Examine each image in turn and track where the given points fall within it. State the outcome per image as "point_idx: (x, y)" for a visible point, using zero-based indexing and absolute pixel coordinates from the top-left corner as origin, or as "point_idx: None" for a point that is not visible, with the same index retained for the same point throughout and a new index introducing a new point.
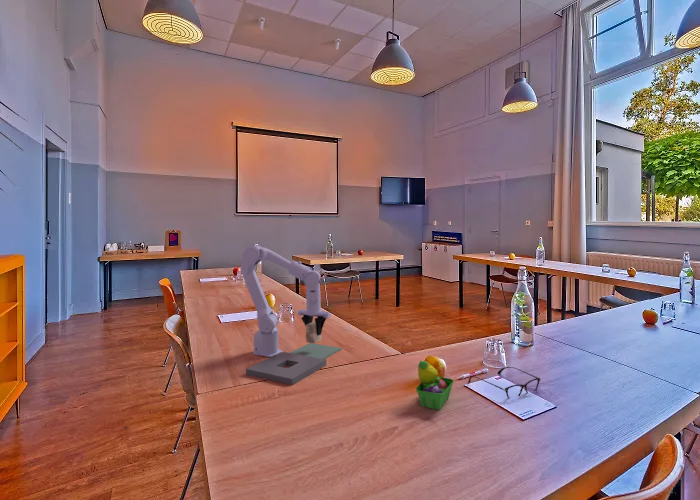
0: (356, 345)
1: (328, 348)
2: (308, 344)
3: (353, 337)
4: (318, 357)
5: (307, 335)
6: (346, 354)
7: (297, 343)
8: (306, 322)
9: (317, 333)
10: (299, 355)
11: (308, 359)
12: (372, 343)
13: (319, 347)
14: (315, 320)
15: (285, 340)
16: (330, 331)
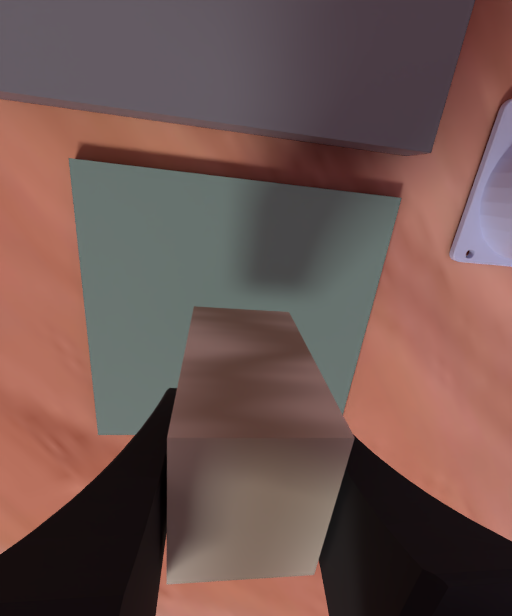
0: None
1: None
2: None
3: (163, 579)
4: (121, 208)
5: (285, 342)
6: (6, 363)
7: (412, 416)
8: (371, 499)
9: (173, 398)
10: (248, 107)
11: (93, 10)
12: None
13: None
14: (105, 575)
15: (497, 431)
16: (319, 595)
